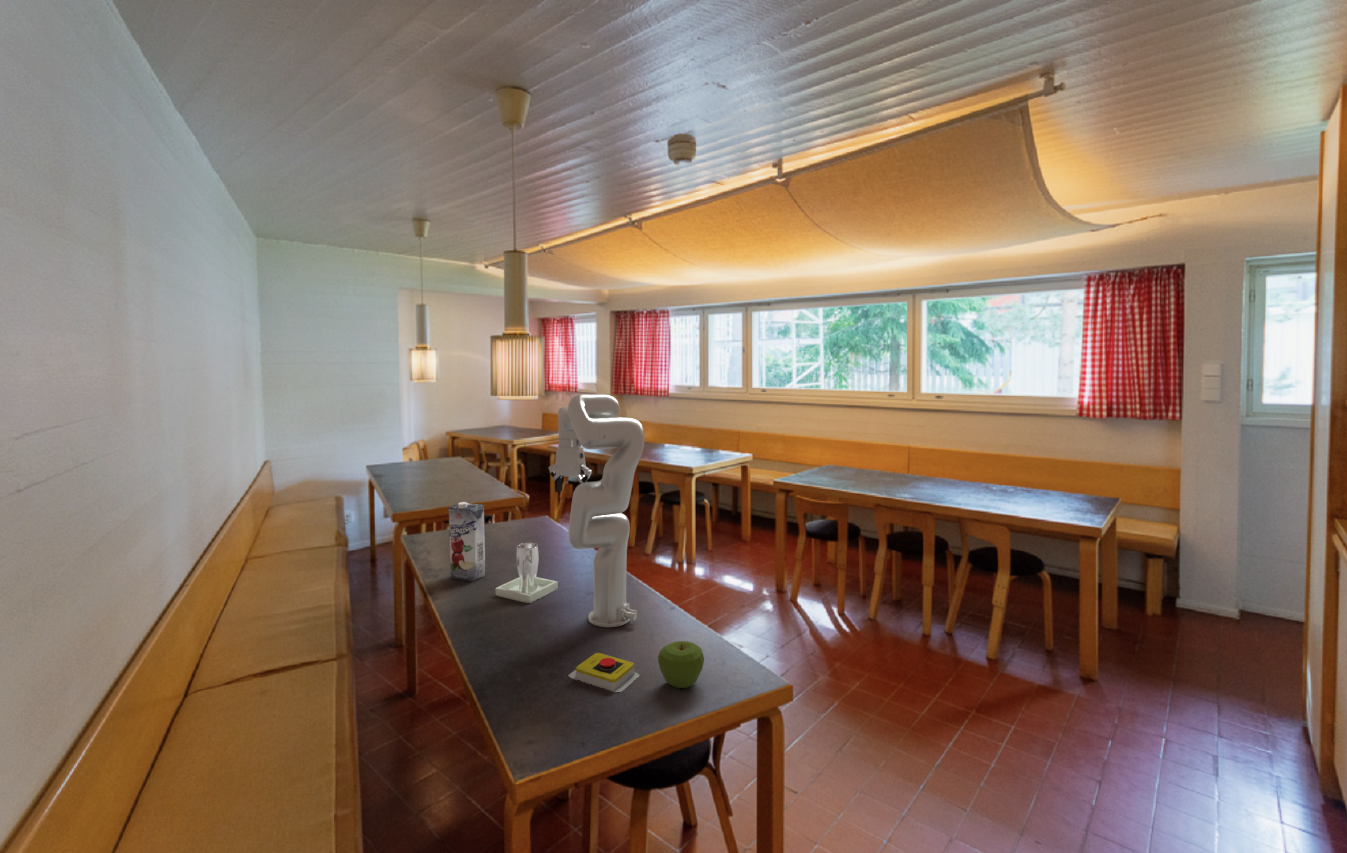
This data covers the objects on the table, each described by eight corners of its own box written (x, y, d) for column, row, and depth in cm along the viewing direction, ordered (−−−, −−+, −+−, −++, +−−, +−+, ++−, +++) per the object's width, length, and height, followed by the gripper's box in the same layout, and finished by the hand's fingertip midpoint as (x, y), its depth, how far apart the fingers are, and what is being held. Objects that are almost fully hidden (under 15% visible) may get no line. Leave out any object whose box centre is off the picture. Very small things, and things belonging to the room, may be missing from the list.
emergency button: (619, 677, 132) (566, 661, 139) (619, 695, 132) (566, 679, 139) (641, 659, 140) (589, 645, 147) (641, 677, 140) (589, 661, 147)
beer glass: (512, 591, 191) (511, 546, 189) (529, 585, 196) (529, 541, 195) (526, 596, 186) (525, 550, 185) (543, 589, 192) (542, 545, 190)
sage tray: (557, 588, 195) (557, 581, 194) (530, 603, 182) (529, 595, 182) (524, 581, 201) (524, 574, 200) (495, 595, 188) (495, 588, 188)
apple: (689, 668, 143) (690, 629, 142) (712, 689, 134) (713, 647, 133) (650, 679, 138) (650, 639, 137) (670, 701, 129) (671, 658, 128)
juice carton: (464, 571, 210) (462, 497, 207) (488, 575, 207) (487, 500, 204) (447, 580, 202) (444, 503, 199) (472, 584, 198) (470, 505, 196)
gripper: (597, 443, 199) (597, 493, 201) (556, 440, 207) (556, 488, 209) (584, 446, 193) (584, 497, 194) (542, 442, 200) (543, 492, 202)
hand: (570, 492), depth 201 cm, fingers open, 9 cm apart
